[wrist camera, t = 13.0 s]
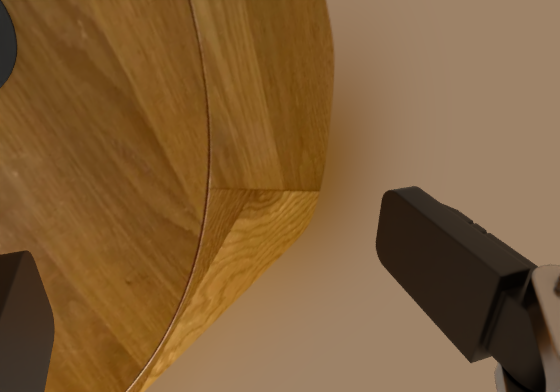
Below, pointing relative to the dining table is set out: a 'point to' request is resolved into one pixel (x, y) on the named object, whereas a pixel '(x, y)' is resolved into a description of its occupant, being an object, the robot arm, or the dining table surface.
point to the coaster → (6, 45)
